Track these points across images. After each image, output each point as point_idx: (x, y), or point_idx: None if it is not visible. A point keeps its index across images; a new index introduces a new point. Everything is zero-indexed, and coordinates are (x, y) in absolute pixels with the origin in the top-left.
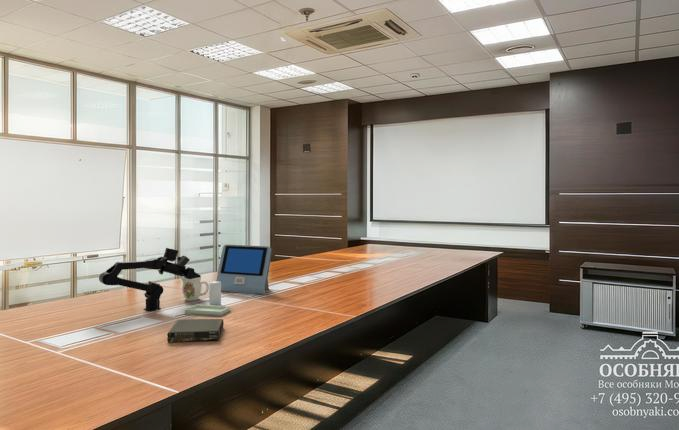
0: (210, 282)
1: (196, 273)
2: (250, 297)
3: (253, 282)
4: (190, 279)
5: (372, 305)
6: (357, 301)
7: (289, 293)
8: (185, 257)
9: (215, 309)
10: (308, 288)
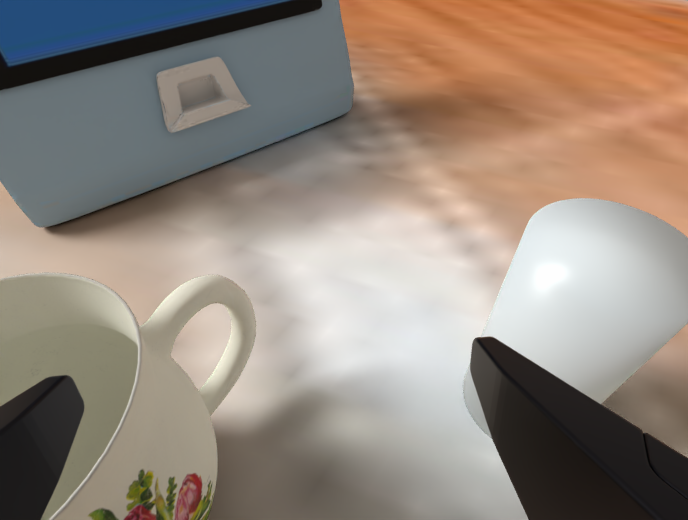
0: (602, 299)
1: (666, 457)
2: (377, 163)
3: (288, 70)
4: (72, 502)
5: (682, 4)
6: (613, 7)
7: (389, 63)
8: None
9: None
10: (343, 21)
